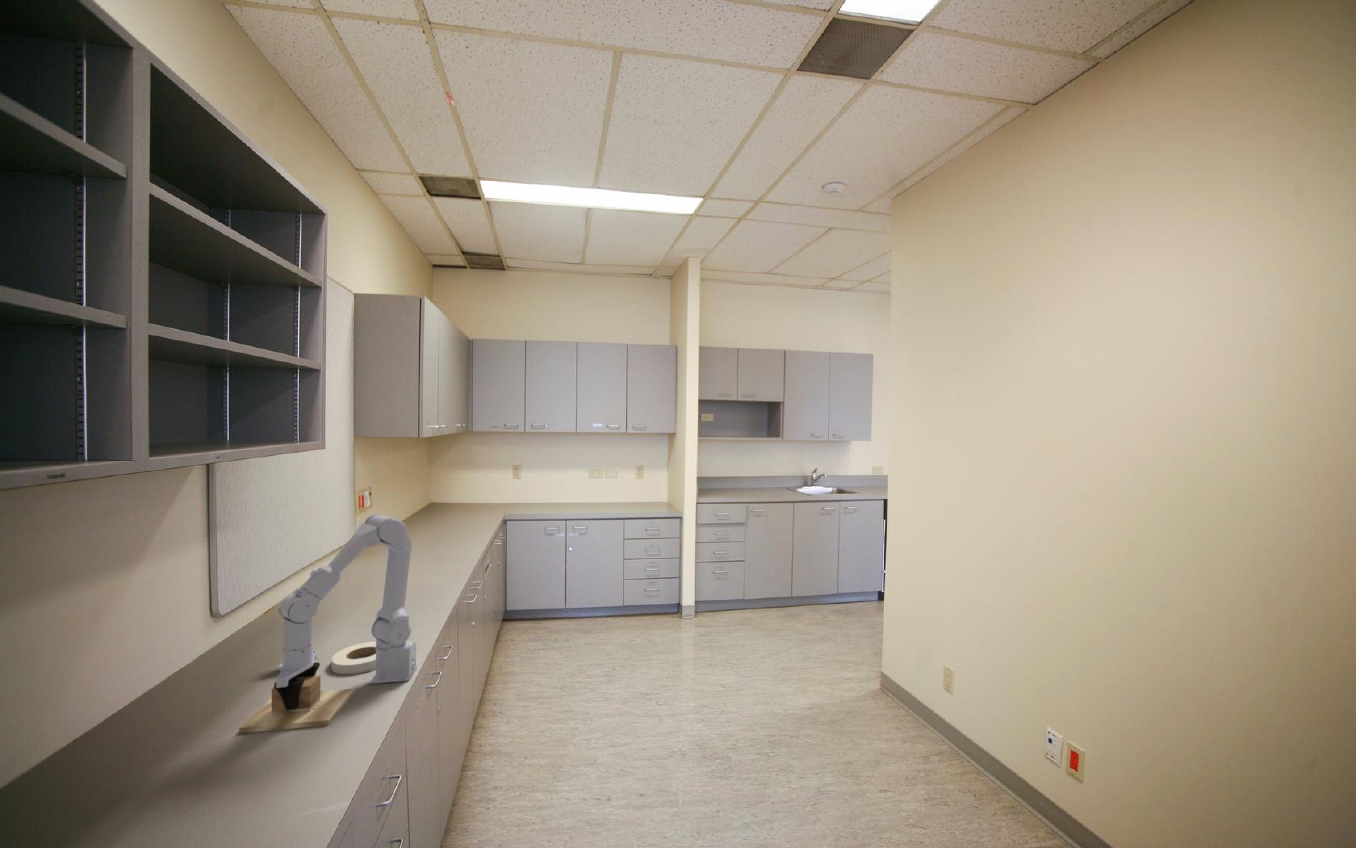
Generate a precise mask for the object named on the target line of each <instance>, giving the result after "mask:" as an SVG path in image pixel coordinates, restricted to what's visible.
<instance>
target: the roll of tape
mask: <svg viewBox="0 0 1356 848" xmlns="http://www.w3.org/2000/svg"><path fill="white" fill-rule="evenodd" d="M364 656H366V657H364ZM359 657H362V658H359ZM330 659H331V660H330V665H331V667H330V669H331V671H332V672H334V673H335V674H341V675H353V674H361V673H366V672H369V671H373V670H376V641H368V642H362V643H357V644H353V645H351V646H347V647H345V648H343V649H341V650H339V651H337V652H336V653H334V654H333V655H332V657H331V658H330Z"/></svg>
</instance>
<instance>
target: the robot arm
mask: <svg viewBox="0 0 1356 848" xmlns="http://www.w3.org/2000/svg"><path fill="white" fill-rule="evenodd" d="M411 539H412V538H410V536H409V533H408V531H407V524H406V523H405V522H403V521H402V520H400V519H399V518H397V517H392V516H391V517H390V516H386V515H384V514H379V513H374V514H372V515H370V516H368V517H367V518H366V520H365V521H364V522H363V523H361V524H360V525H359V526H358V528H357V529H356V531H355V533H354V534H353V536H352V537H350V539H349V540H348V541H347V543H346V544H345V545H344V546H343V547H342V548H341V550H339V552H338V553H337V554H336V555H335V557H334V558H333V559H332V560H331V561H330V562H329V564H327V565H323V566H320V567H318V568H317V569H316V570H315V569H314V570H312V571H311V572H310V573H309V575H310V576H309V578H307V580H306V581H305V582H304V583H303V584H302V585H301V586H300V587H299V588H296V589H295V590H294V591H293V594H291V595H288V596H287V597H286V598H284V599H283V601H282V602H281V604H280V607H279V608H278V614H279V615H280V616H281V617H283V621H282V622H283V623H282V624H283V625H282V626H283V629H282V663H281V664H279V665H278V666H277V668H276V669H277V671H280V673H279V675H278V677H277V678H276V680H275V682H274V683H273V685H274V686H273V687H274V688H275V689H276V690H277V691H278V692H279V694H280V695H281V697H282V700H283V703H284V706H285V709H286V710H295V709H296V708H297V706H298V702H299V695H300V690H301V687H302V685H303V682H304V680H305V679H298V680H297V678H296V677H310V676H316V674H317V671H318V670H319V668H320V665H321V664H320V662H315V661H316V660H317V659H318V650H313V649H314V648H313V644H314V643H313V639H314V638H313V636H314V635H313V634H314V633H313V630H314V628H313V627H314V625H313V624H314V623H313V617H314V616H315V615H316V614H317V612H318V608H319V605H320V604H321V602H322V601H323V600H324V599H325V598H326V596H327V595H328V594H329V593H330V592H331V591H332V589H334V587H336V585H338V583H339V582H340V581H341V574H342V572H343V571H344V570H345V569H346V568H347V567H348V566H349V565H350V564H352V562H353V561H354V560H355V559H356V558H357V557H358V556H359V555H360V554H361V553H362V552H363V551H364V550H365V549H367V548H371V547H375V546H379V545H383V546H385V547H386V548H387V549H388V554H387V555H388V556H387V563H386V573H385V581H384V588H383V596H382V597H383V598H382V605H381V606H382V607H381V608H380V609H379V610H378V611H377V612H376V616H375V620H374V622H373V624H372V626H371V635H372V637H374V638H375V639H376V640H375V642H376V669H375V674H374V676H373V677H372V678H371V680H370V681H369V684H370V685H372V684H375V685H376V684H384V683H386V684H387V683H395V682H396V683H397V682H407V681H409V680H410V679H411V677H412V675H413V674H414V673H415V671H416V669H417V668H418V666H417V644H416V642H415V641H408V640H409V638H410V636H411V632H412V629H411V628H412V627H411V625H410V622H409V621H410V616H409V613H408V612H407V610H406V608H405V606H406V605H405V604H406V603H405V602H406V598H407V597H406V596H407V587H408V580H409V579H408V577H409V571H410V560H411V552H412V540H411Z"/></svg>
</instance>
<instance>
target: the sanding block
mask: <svg viewBox="0 0 1356 848" xmlns="http://www.w3.org/2000/svg"><path fill="white" fill-rule="evenodd" d="M296 678H297V680H298V679H305V680H304V682H303V685H302V687H301V690H300V695H299V702H298V706H297V708H296V709H295V710H286V709H285V706H284V703H283V700H282V697H281V695H280V694H279V692H278V691H277V690H276V689H275V688H274V686H273V687H272V688H271V698H272V715H274V714H286V713H297V712H309V711H311V710H312V709H313V708H314V707H315V705H316V704H317V703H318V702H319V701H320V691H321V675H315V676H310V677H296Z"/></svg>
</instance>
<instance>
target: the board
mask: <svg viewBox="0 0 1356 848" xmlns="http://www.w3.org/2000/svg"><path fill="white" fill-rule="evenodd" d="M354 695H355V688H346V689H335V690H332V689H331V690H322V691H321V690H320V701H319V702H318V703H317V704H316V705H315V707H314V708H313V709H312V710H311V711H309V712H297V713H286V714H274V715H272V697H271V698H270V699H269V700H268V701H267V702H266V703H264V705H263V706H261V708H259V709H258V710H257V711H256V712H255V713H253V715H252V716H251V717H250V718H248V719H247V720H246V721H245V722H244V723H243V724H242V725H241V726H240V727H239V728H238V734H246V733H258V732H269V731H280V729H281V730H288V729H289V730H292V729H300V728H310V727H321V726H329V725H331V723H332V722H333V720H334V719H335V718H336V717H337V716H338V714H339V713H340V712H341V710H343V709H344V707H345V706H346V705H347V704H348V702H349V701H350V699H352V697H353V696H354Z"/></svg>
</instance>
